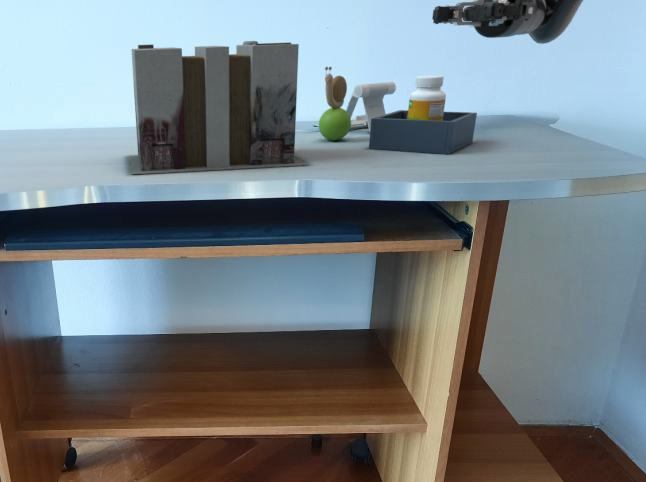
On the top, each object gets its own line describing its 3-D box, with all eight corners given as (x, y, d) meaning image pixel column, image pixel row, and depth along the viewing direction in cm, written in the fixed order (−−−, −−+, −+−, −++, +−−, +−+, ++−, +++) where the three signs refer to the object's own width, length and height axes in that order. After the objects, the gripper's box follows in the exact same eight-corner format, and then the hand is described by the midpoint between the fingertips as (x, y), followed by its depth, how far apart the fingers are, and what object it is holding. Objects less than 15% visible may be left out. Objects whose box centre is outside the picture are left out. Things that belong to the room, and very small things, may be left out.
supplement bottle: (397, 140, 105) (404, 76, 101) (425, 138, 106) (433, 74, 102) (418, 145, 100) (426, 78, 96) (447, 142, 102) (456, 76, 97)
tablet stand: (365, 126, 126) (369, 80, 122) (396, 130, 120) (401, 82, 116) (332, 130, 122) (335, 83, 118) (363, 135, 116) (367, 85, 112)
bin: (472, 142, 104) (477, 112, 102) (449, 154, 95) (454, 121, 93) (396, 138, 111) (399, 110, 109) (368, 148, 102) (371, 118, 100)
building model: (129, 156, 103) (121, 45, 96) (281, 148, 105) (284, 39, 98) (132, 174, 89) (123, 46, 82) (307, 165, 91) (313, 39, 84)
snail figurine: (309, 142, 110) (312, 66, 105) (327, 137, 115) (331, 64, 109) (337, 144, 107) (342, 66, 102) (355, 139, 111) (361, 64, 106)
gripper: (467, -9, 113) (422, -11, 103) (554, -16, 104) (513, -19, 94) (461, 38, 116) (416, 40, 106) (544, 35, 107) (503, 37, 97)
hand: (461, 12), depth 100 cm, fingers open, 8 cm apart
